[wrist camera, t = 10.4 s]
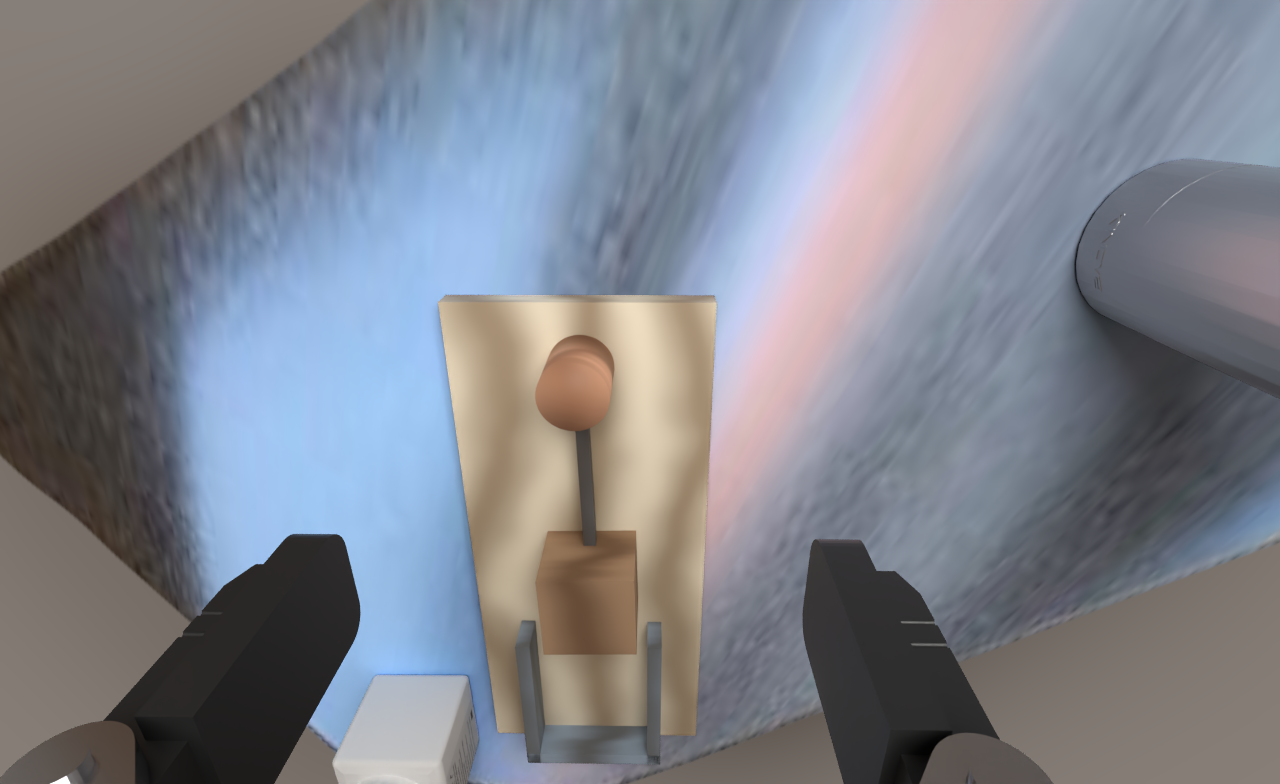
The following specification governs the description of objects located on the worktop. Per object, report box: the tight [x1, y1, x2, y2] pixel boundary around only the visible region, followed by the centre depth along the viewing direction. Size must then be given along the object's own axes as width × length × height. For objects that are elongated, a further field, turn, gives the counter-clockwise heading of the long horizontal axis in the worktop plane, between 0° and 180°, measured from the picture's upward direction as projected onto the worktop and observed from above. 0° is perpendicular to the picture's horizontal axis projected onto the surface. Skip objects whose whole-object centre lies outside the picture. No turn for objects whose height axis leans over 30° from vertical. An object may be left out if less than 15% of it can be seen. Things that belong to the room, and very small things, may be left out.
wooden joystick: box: [535, 335, 638, 655], centre depth 39 cm, size 6×20×5 cm, turn 1°
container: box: [332, 675, 479, 784], centre depth 47 cm, size 8×8×13 cm
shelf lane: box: [438, 295, 717, 764], centre depth 43 cm, size 16×36×4 cm, turn 0°
